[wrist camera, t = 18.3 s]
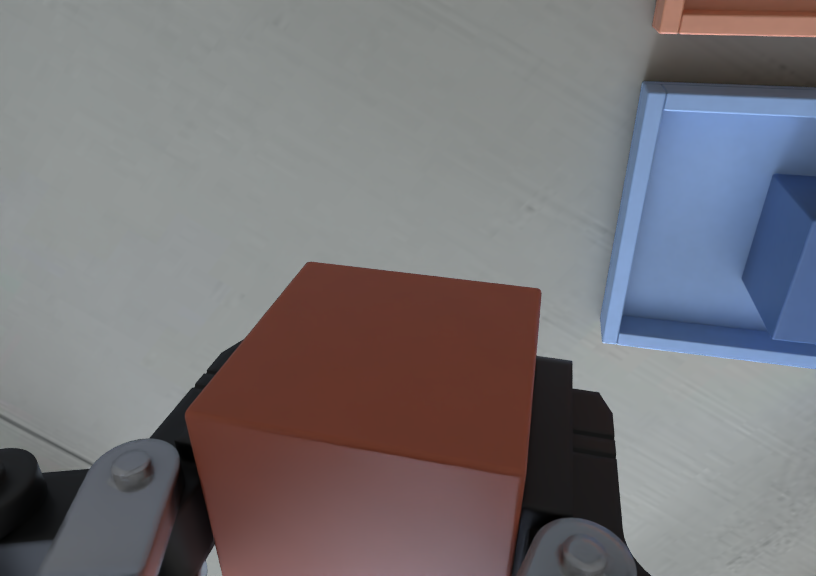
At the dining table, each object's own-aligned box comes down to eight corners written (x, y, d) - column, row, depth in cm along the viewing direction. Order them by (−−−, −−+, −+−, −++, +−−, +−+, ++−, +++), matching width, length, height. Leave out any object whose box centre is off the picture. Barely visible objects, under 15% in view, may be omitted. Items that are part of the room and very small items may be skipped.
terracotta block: (322, 431, 14) (229, 615, 10) (307, 259, 11) (181, 413, 8) (518, 465, 13) (496, 680, 9) (542, 286, 11) (526, 473, 7)
